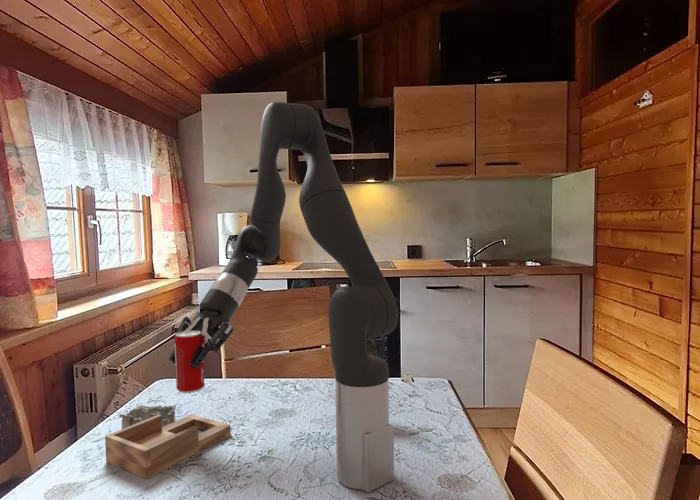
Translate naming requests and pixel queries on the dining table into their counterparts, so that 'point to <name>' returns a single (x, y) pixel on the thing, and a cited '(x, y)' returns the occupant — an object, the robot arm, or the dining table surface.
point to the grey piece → (148, 415)
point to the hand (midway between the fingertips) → (182, 363)
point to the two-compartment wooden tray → (161, 443)
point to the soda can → (186, 374)
